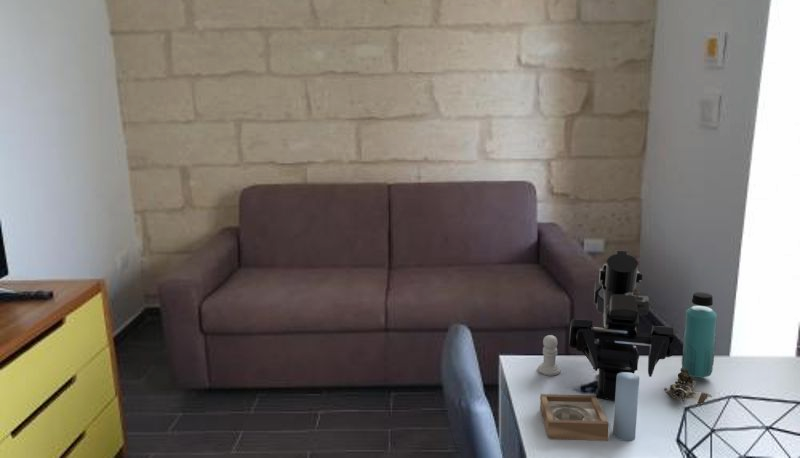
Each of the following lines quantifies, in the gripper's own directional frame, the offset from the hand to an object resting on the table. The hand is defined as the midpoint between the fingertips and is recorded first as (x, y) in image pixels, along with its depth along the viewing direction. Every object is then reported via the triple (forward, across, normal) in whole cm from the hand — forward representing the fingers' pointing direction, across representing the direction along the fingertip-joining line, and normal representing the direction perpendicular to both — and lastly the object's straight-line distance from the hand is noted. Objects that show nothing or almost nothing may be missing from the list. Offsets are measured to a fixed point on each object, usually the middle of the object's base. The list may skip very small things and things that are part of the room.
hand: (623, 372), depth 108 cm
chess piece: (-20, -13, +26) cm, 35 cm away
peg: (+3, +2, +15) cm, 15 cm away
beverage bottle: (-24, +20, +28) cm, 41 cm away
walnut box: (+1, -8, +16) cm, 18 cm away
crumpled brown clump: (-14, +15, +23) cm, 31 cm away
